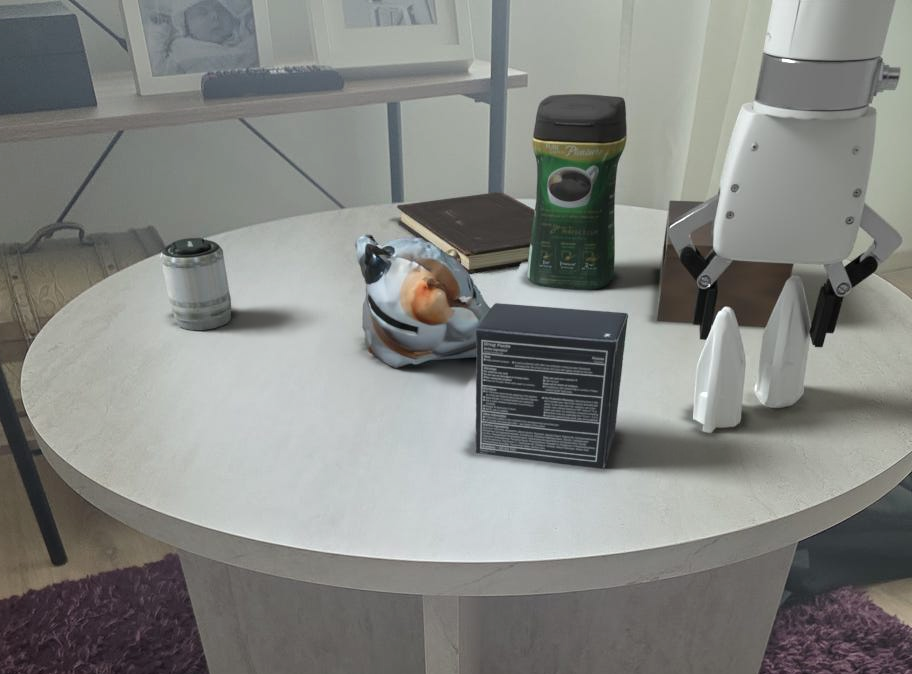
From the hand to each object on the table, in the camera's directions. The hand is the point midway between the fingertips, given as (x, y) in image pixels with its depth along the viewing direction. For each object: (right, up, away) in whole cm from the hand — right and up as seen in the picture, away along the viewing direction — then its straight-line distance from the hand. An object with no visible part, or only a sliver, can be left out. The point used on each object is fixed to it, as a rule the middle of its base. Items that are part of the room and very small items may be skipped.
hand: (759, 336), depth 73 cm
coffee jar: (-11, +16, +31) cm, 36 cm away
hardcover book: (-19, +27, +44) cm, 55 cm away
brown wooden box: (+4, +12, +25) cm, 28 cm away
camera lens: (-51, +9, +24) cm, 57 cm away
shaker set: (0, -5, +4) cm, 7 cm away
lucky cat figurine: (-26, +3, +16) cm, 31 cm away
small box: (-17, -9, 0) cm, 19 cm away
